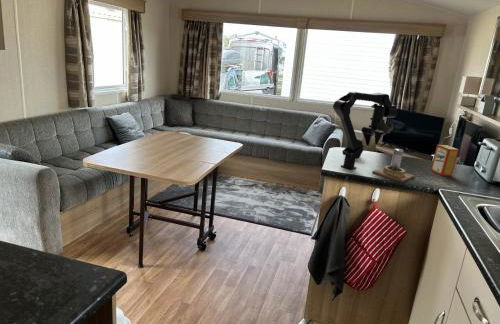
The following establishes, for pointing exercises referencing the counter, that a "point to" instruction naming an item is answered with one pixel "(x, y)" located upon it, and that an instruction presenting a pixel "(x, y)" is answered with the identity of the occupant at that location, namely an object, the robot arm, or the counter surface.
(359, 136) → the skincare box
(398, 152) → the piston
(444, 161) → the baking soda box
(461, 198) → the counter surface
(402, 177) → the ring board
